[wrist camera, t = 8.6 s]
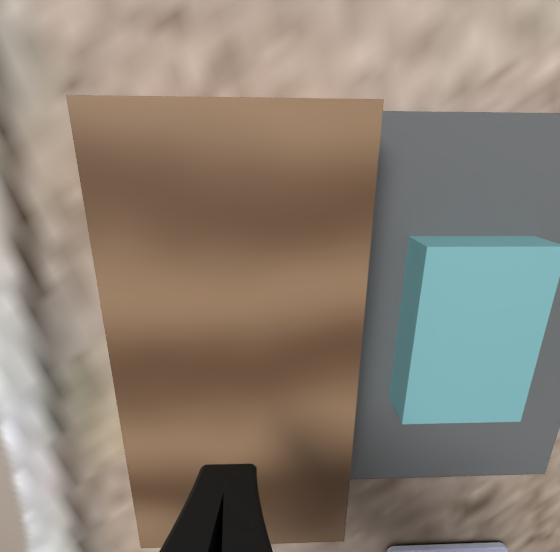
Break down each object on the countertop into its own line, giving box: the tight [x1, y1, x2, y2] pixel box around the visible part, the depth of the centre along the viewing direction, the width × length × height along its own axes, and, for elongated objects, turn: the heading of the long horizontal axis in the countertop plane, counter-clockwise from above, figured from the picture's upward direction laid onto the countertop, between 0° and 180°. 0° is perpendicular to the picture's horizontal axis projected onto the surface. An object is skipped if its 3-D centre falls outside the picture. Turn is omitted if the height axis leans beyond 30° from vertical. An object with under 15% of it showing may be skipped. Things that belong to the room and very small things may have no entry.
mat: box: [350, 111, 560, 479], centre depth 19 cm, size 20×12×1 cm, turn 0°
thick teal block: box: [389, 236, 560, 424], centre depth 18 cm, size 9×6×2 cm, turn 0°
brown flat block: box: [66, 95, 384, 548], centre depth 17 cm, size 20×10×4 cm, turn 0°
